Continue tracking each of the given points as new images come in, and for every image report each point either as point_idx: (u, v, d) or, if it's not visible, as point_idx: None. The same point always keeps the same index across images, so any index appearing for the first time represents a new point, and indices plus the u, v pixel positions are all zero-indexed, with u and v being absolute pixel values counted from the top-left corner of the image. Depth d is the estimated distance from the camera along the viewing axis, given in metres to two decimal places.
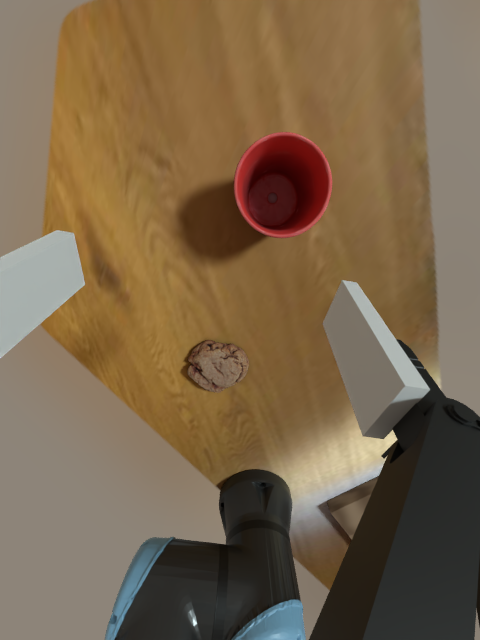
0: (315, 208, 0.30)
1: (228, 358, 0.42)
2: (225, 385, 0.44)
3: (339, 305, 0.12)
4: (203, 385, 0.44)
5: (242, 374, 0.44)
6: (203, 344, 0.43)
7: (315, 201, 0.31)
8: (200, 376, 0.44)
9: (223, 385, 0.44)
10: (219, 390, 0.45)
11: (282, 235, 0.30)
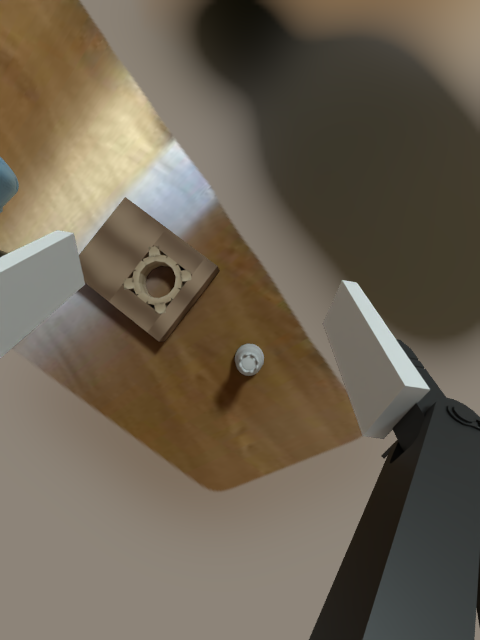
0: None
1: None
2: None
3: (339, 305, 0.12)
4: None
5: None
6: None
7: None
8: None
9: None
10: None
11: None
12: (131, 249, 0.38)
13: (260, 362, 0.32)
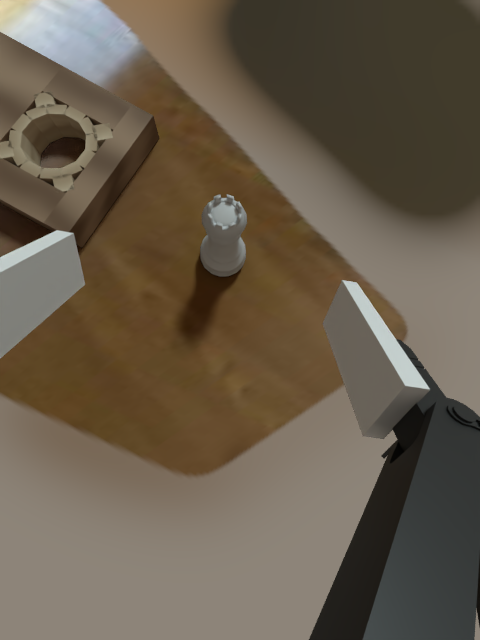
0: None
1: None
2: None
3: (339, 305, 0.12)
4: None
5: None
6: None
7: None
8: None
9: None
10: None
11: None
12: (3, 97, 0.23)
13: (244, 214, 0.18)
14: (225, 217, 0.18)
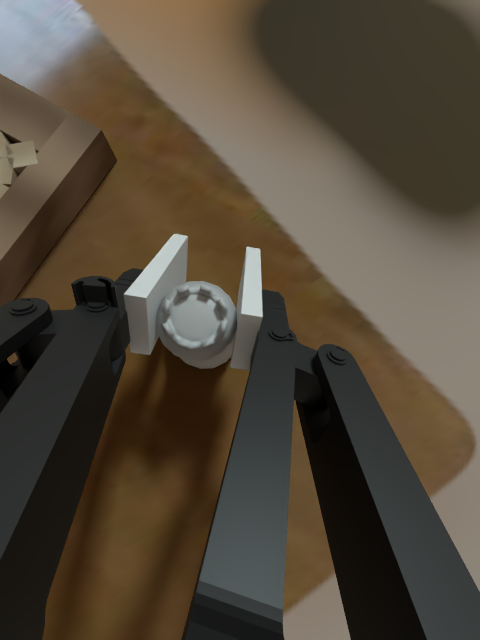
0: None
1: None
2: None
3: (243, 268, 0.14)
4: None
5: None
6: None
7: None
8: None
9: None
10: None
11: None
12: None
13: (232, 312, 0.10)
14: (197, 325, 0.10)
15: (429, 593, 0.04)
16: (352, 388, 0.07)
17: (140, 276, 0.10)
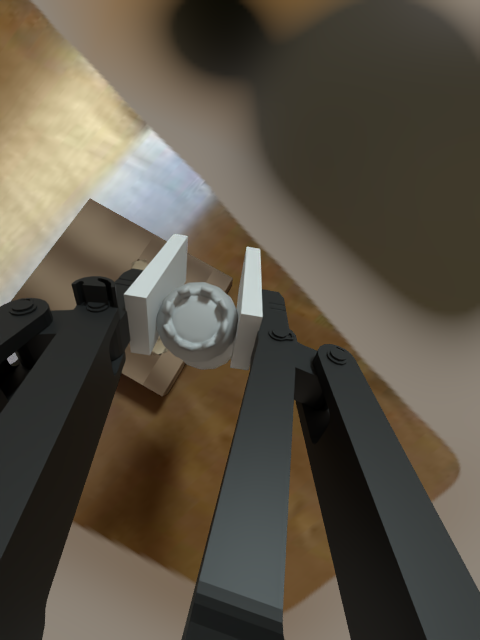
0: None
1: None
2: None
3: (243, 268, 0.14)
4: None
5: None
6: None
7: None
8: None
9: None
10: None
11: None
12: (106, 267, 0.27)
13: (233, 313, 0.10)
14: (198, 326, 0.10)
15: (429, 593, 0.04)
16: (352, 388, 0.07)
17: (140, 276, 0.10)
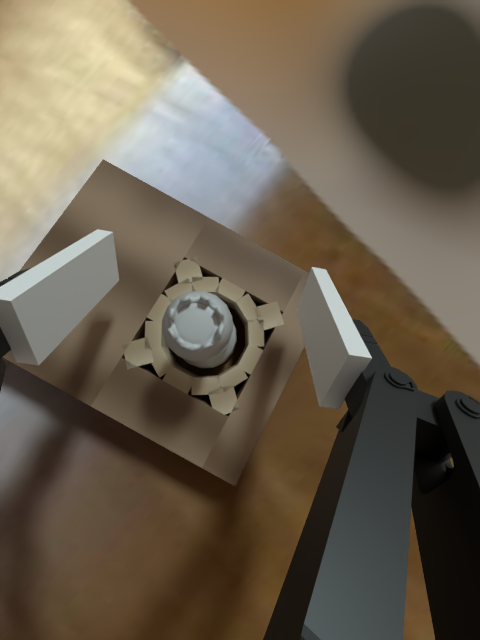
0: None
1: None
2: None
3: (308, 290, 0.13)
4: None
5: None
6: None
7: None
8: None
9: None
10: None
11: None
12: (133, 270, 0.16)
13: (228, 318, 0.12)
14: (197, 329, 0.11)
15: None
16: None
17: (21, 275, 0.08)
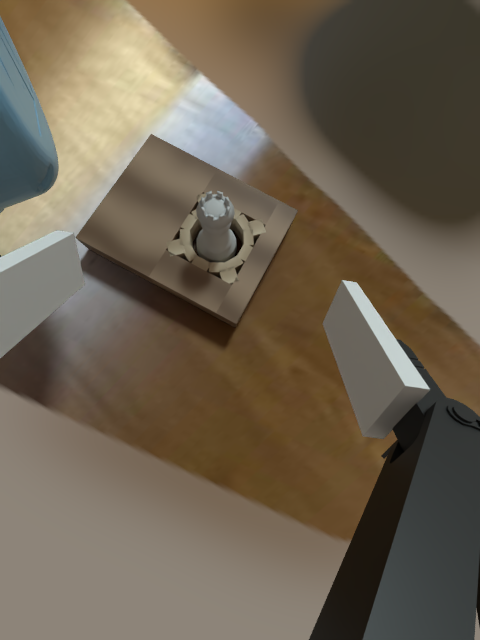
0: None
1: None
2: None
3: (339, 305, 0.12)
4: None
5: None
6: None
7: None
8: None
9: None
10: None
11: None
12: (171, 200, 0.26)
13: (232, 207, 0.22)
14: (216, 210, 0.21)
15: None
16: None
17: None
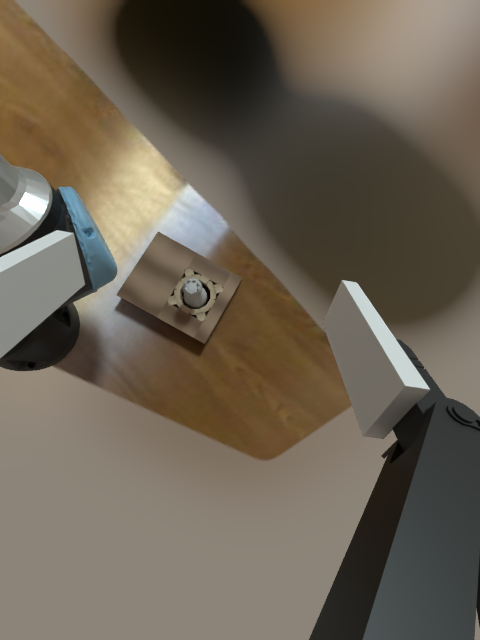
0: None
1: None
2: None
3: (339, 305, 0.12)
4: None
5: None
6: None
7: None
8: None
9: None
10: None
11: None
12: (169, 272, 0.47)
13: (201, 285, 0.42)
14: (192, 288, 0.41)
15: None
16: None
17: None
